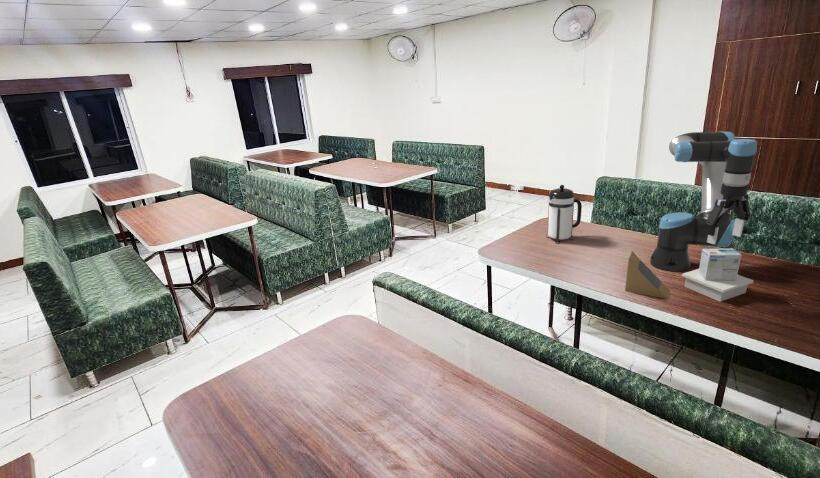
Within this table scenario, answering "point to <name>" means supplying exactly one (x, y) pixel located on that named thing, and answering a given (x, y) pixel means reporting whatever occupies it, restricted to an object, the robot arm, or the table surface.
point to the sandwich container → (643, 279)
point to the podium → (716, 286)
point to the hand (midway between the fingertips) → (724, 239)
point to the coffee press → (562, 213)
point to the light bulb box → (719, 264)
